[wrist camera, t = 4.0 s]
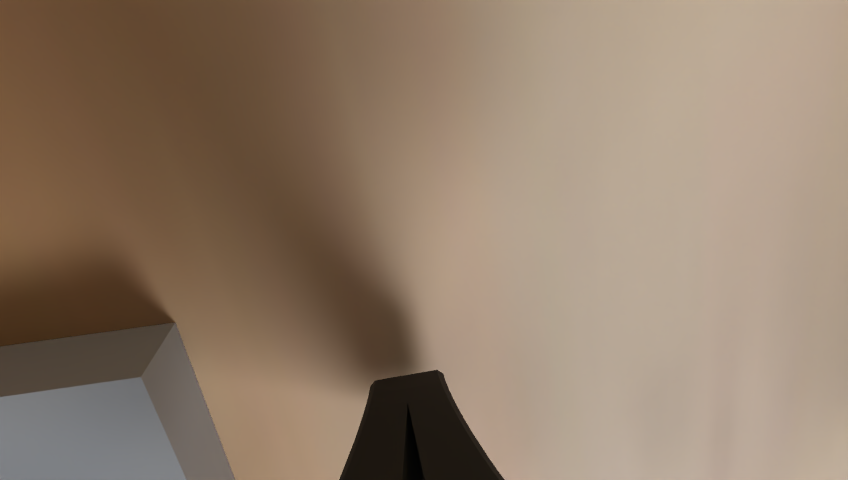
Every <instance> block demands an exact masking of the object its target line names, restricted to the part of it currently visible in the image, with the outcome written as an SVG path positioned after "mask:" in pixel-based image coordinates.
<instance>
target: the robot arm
mask: <svg viewBox="0 0 848 480" xmlns="http://www.w3.org/2000/svg"><path fill="white" fill-rule="evenodd" d="M339 480H504V479H503V477H502V476H501V475H500V473H499V472H498V470H497V469H496V468H495V466H494V465H493V463H492V462H491V460H490V459H489V458H488V456H487V455H486V453H485V451H484V450H483V448H482V447H481V445H480V444H479V442H478V441H477V439H476V438H475V436H474V435H473V433H472V431H471V430H470V428H469V427H468V425H467V423H466V422H465V420H464V418H463V416H462V414H461V413H460V411H459V409H458V407H457V405H456V403H455V401H454V399H453V397H452V395H451V393H450V391H449V389H448V386H447V384H446V381H445V378H444V375H443V373H441V372H440V371H438V370H434V371H428V372H422V373H416V374H410V375H405V376H399V377H393V378H387V379H382V380H376V381H375V382H374V383H373V384H372V385H371V387H370V392H369V396H368V400H367V404H366V407H365V411H364V414H363V417H362V420H361V423H360V426H359V429H358V432H357V435H356V438H355V441H354V443H353V446H352V449H351V451H350V454H349V456H348V459H347V462H346V464H345V467H344V469H343V472H342V474H341V477H340V479H339Z"/></svg>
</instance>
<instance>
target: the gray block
mask: <svg viewBox="0 0 848 480" xmlns="http://www.w3.org/2000/svg"><path fill="white" fill-rule="evenodd" d="M0 480H235V478H234V475H233V473H232V470H231V467H230V465H229V462H228V459H227V457H226V454H225V452H224V449H223V446H222V444H221V441H220V438H219V436H218V433H217V431H216V428H215V425H214V423H213V420H212V417H211V415H210V412H209V409H208V407H207V404H206V402H205V399H204V396H203V394H202V391H201V388H200V386H199V383H198V381H197V378H196V375H195V373H194V370H193V367H192V365H191V362H190V360H189V357H188V354H187V352H186V349H185V346H184V344H183V341H182V339H181V336H180V333H179V331H178V328H177V325H176V323H167V324H160V325H153V326H145V327H138V328H131V329H124V330H116V331H109V332H102V333H95V334H87V335H80V336H73V337H66V338H58V339H51V340H44V341H36V342H29V343H22V344H15V345H7V346H0Z"/></svg>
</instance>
